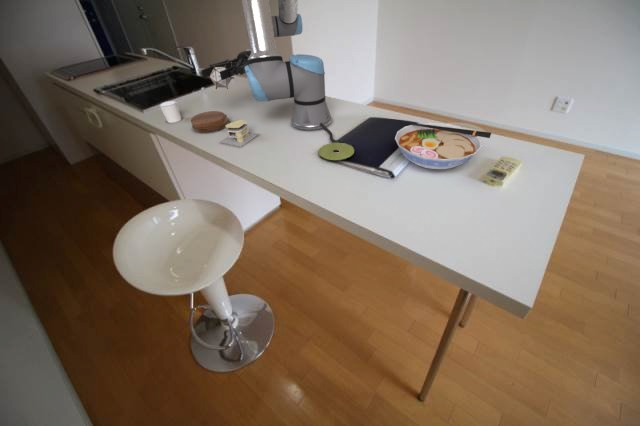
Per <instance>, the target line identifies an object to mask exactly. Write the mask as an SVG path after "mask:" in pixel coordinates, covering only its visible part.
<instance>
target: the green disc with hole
mask: <svg viewBox="0 0 640 426" xmlns="http://www.w3.org/2000/svg"><path fill="white" fill-rule="evenodd" d="M334 151H339V152H334ZM317 152H318V153H317V154H318V155H319V157H321V158H322V159H325V160H329V161H341V160H346V159H347V158H350V157H352V156H353V155H354V153H355V148H354V147H353V145H352V146H351V145H348V144H345V143H334V142H330V143H326V144H324V145H322V146H320V147H319V149H318V150H317Z"/></svg>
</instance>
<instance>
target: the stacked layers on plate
mask: <svg viewBox="0 0 640 426" xmlns="http://www.w3.org/2000/svg"><path fill="white" fill-rule="evenodd" d="M246 123H248V121H247V120H243V119H238V120H235V121H232V122H229V124H227V125H226V127H225V129H226V132H227V133H228V134H227V138H226V139H225V140H223V141H221V142H220V143H222V144H225V145H231V146H235V147H239V148H241V147H242V146H244V145H246V144H247V143H249V142H250V141H252V140H253V139H254V138H256V137H258V134H255V133H251V132H250V129H249V128H248V127H249V124H246Z"/></svg>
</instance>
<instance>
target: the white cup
mask: <svg viewBox="0 0 640 426" xmlns="http://www.w3.org/2000/svg"><path fill="white" fill-rule="evenodd" d="M159 108H160V109H161V111H162V114H163V116H164V118H165V119H166V121H167V123H170V124H171V123H177V122H178V123H179V122H180V121H181V120H182V115H181V111H180V108H179V104H178V101H176V100H168V101H164V102H160V104H159Z"/></svg>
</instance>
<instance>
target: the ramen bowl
mask: <svg viewBox="0 0 640 426" xmlns="http://www.w3.org/2000/svg"><path fill="white" fill-rule="evenodd" d="M400 124H405V125H406V126H404V127H402V128H400V129H399V130H398V131H397V132H396V134H395V137H394V140H395V142H396V145H397V147H398V148H399V150H400V152H401V154H402V155H403V156H404V158H405V159H407V160H408V161H409V162H411V163H413V164H414V165H416V166H419V167H422V168H425V169H431V170H446V169H447V170H448V169H452V168H455V167H458V166H461V165H462V164H464V163H467V162H468V161H469V160H470V159H471V158H473V156H475V154H477V153H478V152H479V151H480V150H481V149H482V140H481V138H486V139H490V138H491V136H492V132H489V131H482V130H472V129H467V128H464V127H462V126H458V125H454V124H450V123H444V122H443V123H442V122H431V121H430V122H417V123H415V122H407V121H401V122H400ZM479 137H480V138H479Z"/></svg>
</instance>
